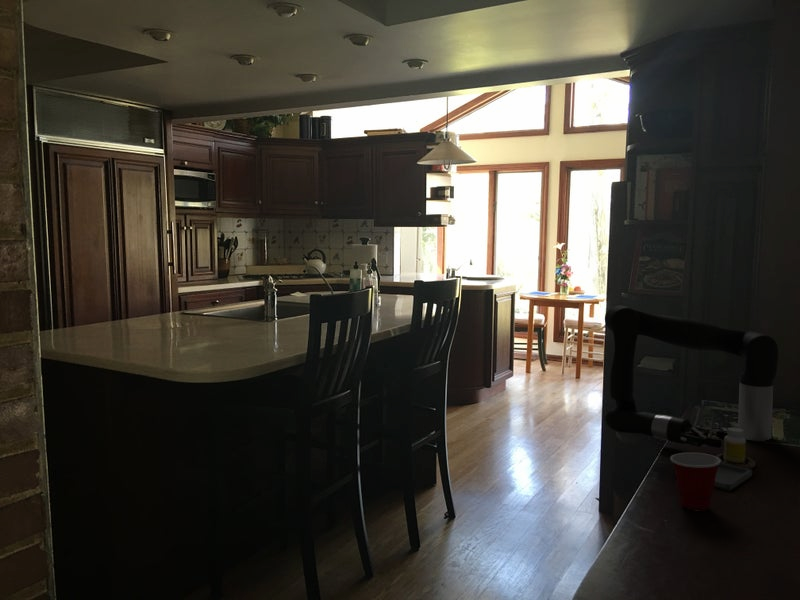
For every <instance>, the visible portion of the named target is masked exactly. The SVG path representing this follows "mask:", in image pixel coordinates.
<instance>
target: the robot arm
mask: <svg viewBox="0 0 800 600" xmlns="http://www.w3.org/2000/svg"><path fill="white" fill-rule="evenodd" d="M604 323H605V325H606V327H607V329H609V330H610V331H611V332H612V333H613V341H614V342H613V343H614V352H613V354H614V355H613V359H612V363H611V369H610V376H609V380H610V381H609V396H610V398H611V399H613V400H614V401H615V404H616V407H614V408H612V409H610V410H608V411H607V412H606V414H605V417H604V420H605V423H606V425H607V426H608V428H610V429H611V430H613V431H616V432H620V433H625V434H626V433H629V434H641V435H645V436H649V437H654V438H657V439H660V440H661V441H662V440H663V441H667V442H671V443H675V444H680V445H691V446H695V447H698V448H701V447H702V446H703V447H706V446H708V447H713V448H718V449H719V448H720V449H721V448H722V446H723V445H722V444H723V441H724V438H725V436H727V435H728V434H727V431H722V428H721V427H718V426H711V425H707V424H699V425H695V426H693V425H692V423H691V421H690V420H689V419H687V418H682V417H678V416H673V415H667V414H659V413H658V414H657V413H654V412H647V411H641V412H637V407H636V401H635V399H634V369H635V368H634V367H635V365H634V363H635V355H636V354H635V352H636V345H637V339H638V336H645V337H648V338H651V339H655V340H656V341H660V342H663V343H666V344H669V345H673V346H675V347H680V348H685V349H690V350H695V351H696V350H698V351H718V352H724V353H727V354H730V355H735V356H738V357H741V358H743V359H745V368H744V371H743V372H741V373H740V375H739V390H738V391H739V392H738V394H739V395H738V417H737V418H738V420H737V421H738V422H737V428H740V429H742V430H743V431H744V432H743V436H742V437H744V438H745V440H746V441H754V442H767V441H766V440H769V439H771V440H772V423H773V398H774V395H773V394H774V380H775V379H776V375H777V371H778V361H779V348H778V347H779V346H778V343H777V341H776V340H775V339H774V337H772V336H770V335H768V334H764V333H761V332H758V331H746V330H736V329H728V328H723V327H720V326H718V325H716V324H712V323H710V322H709V323H708V322H705V321H700V320H697V319H691V318H687V317H679V316H671V315H663V314H653V313H648V312H643V311H640V310H638V309H634V308H632V307H629V306H626V305H622V304H621V305H619V304H618V305H615V306H612V307H611V308H609V309H608V310H607V311H606V313H605V315H604ZM722 440H723V441H722ZM769 441H770V440H769Z"/></svg>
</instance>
